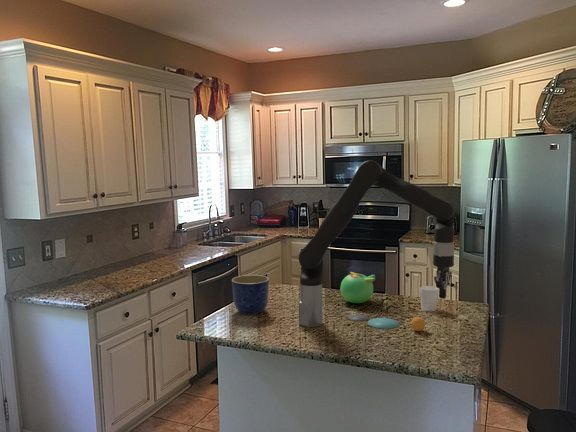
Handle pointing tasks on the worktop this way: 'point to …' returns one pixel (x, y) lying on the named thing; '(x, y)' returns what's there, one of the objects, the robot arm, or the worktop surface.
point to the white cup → (429, 298)
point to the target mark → (383, 323)
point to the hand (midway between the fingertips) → (442, 297)
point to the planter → (250, 293)
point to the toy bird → (357, 287)
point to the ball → (418, 324)
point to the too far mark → (358, 318)
